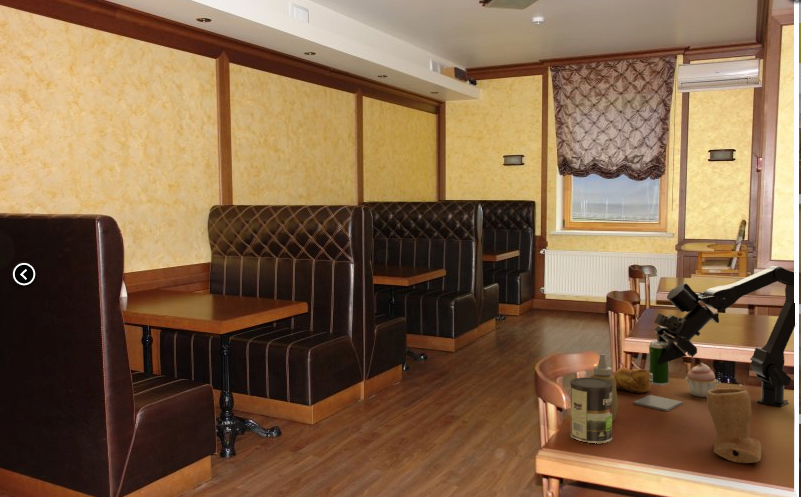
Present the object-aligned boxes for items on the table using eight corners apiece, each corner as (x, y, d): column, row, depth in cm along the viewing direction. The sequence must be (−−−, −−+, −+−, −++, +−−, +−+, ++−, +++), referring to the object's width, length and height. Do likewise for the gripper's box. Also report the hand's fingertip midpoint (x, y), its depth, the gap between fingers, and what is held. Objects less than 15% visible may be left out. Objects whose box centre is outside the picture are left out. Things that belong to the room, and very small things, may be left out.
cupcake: (681, 389, 207) (682, 358, 206) (713, 391, 205) (714, 359, 204) (688, 398, 198) (689, 365, 197) (722, 399, 196) (722, 366, 195)
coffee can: (616, 434, 168) (617, 380, 167) (606, 447, 159) (606, 390, 159) (577, 427, 174) (577, 375, 173) (564, 439, 165) (564, 384, 164)
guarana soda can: (656, 386, 189) (656, 345, 188) (645, 381, 194) (645, 341, 194) (672, 384, 190) (672, 344, 190) (661, 380, 196) (661, 340, 195)
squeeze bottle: (585, 422, 177) (585, 356, 176) (588, 413, 185) (588, 350, 184) (616, 425, 174) (617, 358, 173) (619, 416, 182) (619, 352, 181)
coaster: (649, 396, 200) (649, 394, 200) (682, 403, 193) (682, 401, 193) (633, 403, 193) (633, 401, 193) (666, 411, 186) (666, 409, 186)
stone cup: (708, 438, 164) (709, 379, 163) (762, 447, 158) (764, 385, 157) (701, 459, 151) (702, 395, 150) (760, 469, 145) (761, 402, 144)
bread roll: (605, 390, 208) (605, 365, 207) (614, 383, 216) (614, 359, 215) (647, 396, 201) (648, 370, 200) (655, 388, 209) (655, 364, 208)
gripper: (660, 299, 200) (624, 335, 201) (685, 309, 181) (645, 349, 182) (686, 324, 200) (650, 360, 201) (714, 336, 182) (674, 376, 183)
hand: (654, 361), depth 192 cm, fingers closed on guarana soda can, 5 cm apart
